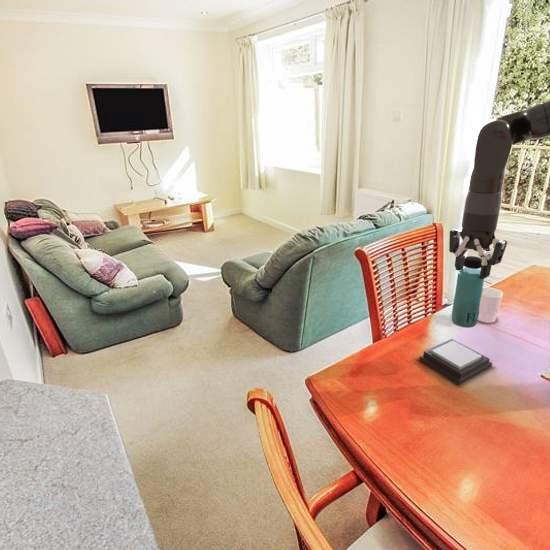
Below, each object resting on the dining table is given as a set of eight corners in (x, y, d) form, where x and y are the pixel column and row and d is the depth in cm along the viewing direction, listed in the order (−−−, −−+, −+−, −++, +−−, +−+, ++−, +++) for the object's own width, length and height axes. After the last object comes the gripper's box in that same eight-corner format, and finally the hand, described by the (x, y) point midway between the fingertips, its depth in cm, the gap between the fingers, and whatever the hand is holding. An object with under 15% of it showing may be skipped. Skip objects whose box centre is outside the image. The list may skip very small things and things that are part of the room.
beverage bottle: (464, 335, 98) (475, 264, 90) (444, 324, 104) (453, 256, 96) (482, 329, 100) (494, 259, 93) (461, 318, 106) (472, 251, 98)
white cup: (467, 318, 129) (472, 292, 125) (477, 310, 134) (481, 284, 130) (492, 326, 123) (498, 299, 119) (501, 317, 128) (506, 291, 124)
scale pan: (452, 344, 112) (453, 340, 111) (481, 360, 104) (482, 355, 103) (431, 354, 108) (431, 350, 107) (459, 371, 100) (460, 366, 100)
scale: (451, 345, 115) (452, 336, 114) (491, 367, 104) (493, 358, 103) (419, 360, 109) (420, 351, 108) (458, 385, 98) (460, 376, 97)
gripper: (521, 212, 85) (507, 279, 92) (464, 202, 97) (455, 262, 103) (501, 218, 82) (488, 287, 89) (445, 206, 94) (437, 268, 100)
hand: (470, 273), depth 96 cm, fingers closed on beverage bottle, 6 cm apart
